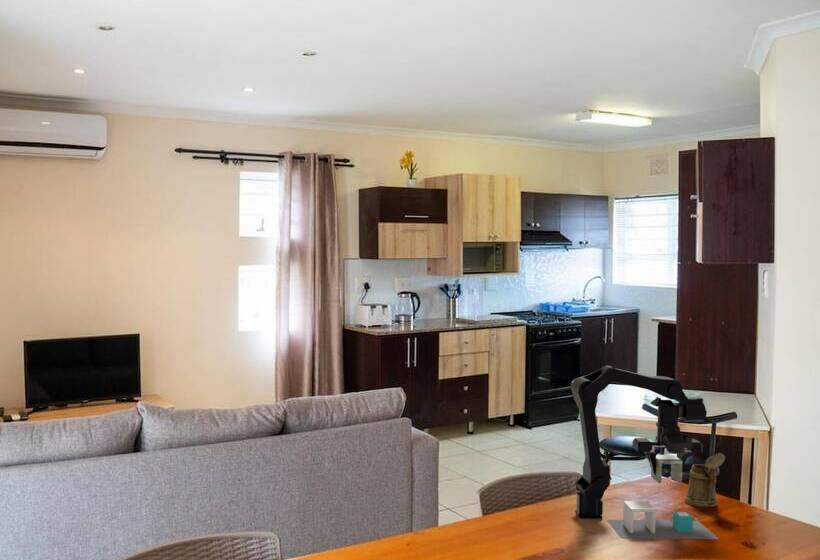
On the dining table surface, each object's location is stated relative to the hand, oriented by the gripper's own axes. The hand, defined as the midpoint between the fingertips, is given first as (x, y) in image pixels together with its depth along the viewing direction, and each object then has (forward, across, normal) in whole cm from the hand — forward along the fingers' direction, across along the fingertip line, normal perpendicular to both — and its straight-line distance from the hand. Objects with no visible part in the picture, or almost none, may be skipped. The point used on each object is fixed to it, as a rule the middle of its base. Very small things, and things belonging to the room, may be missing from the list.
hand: (666, 474), depth 219 cm
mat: (+12, -6, -13) cm, 18 cm away
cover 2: (+2, 0, 0) cm, 2 cm away
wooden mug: (+12, +15, +8) cm, 21 cm away
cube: (+11, 0, -13) cm, 17 cm away
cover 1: (+11, -12, -13) cm, 21 cm away
